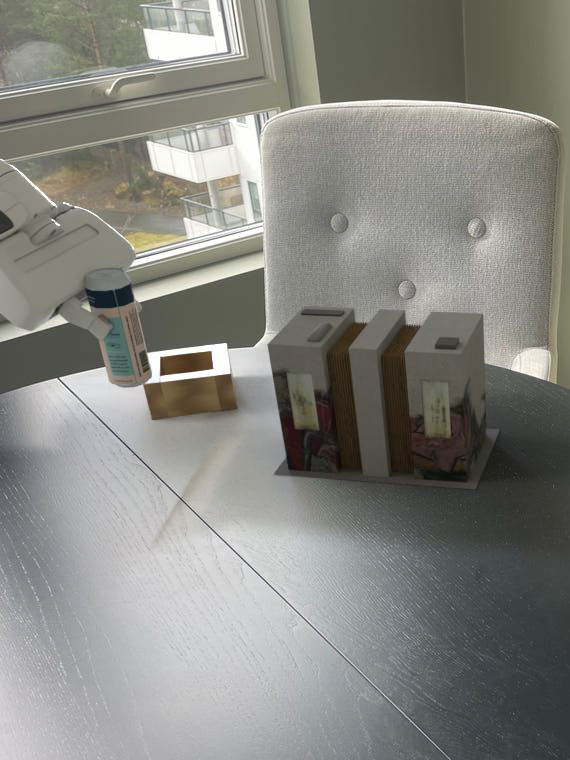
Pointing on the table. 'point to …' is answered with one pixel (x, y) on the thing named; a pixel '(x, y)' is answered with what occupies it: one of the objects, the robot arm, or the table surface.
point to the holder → (190, 381)
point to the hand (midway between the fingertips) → (122, 324)
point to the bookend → (382, 397)
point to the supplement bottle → (119, 327)
